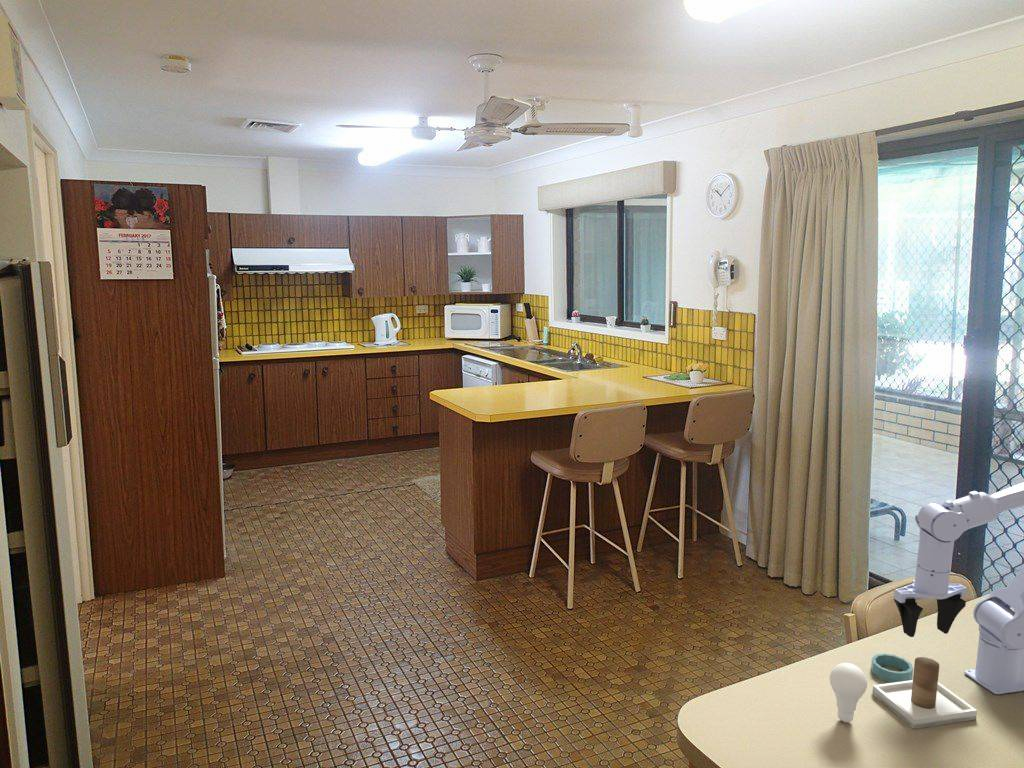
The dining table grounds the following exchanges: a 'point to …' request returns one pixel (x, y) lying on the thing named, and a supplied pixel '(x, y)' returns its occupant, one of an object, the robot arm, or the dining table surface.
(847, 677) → the lightbulb
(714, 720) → the dining table surface
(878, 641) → the dining table surface
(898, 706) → the tray
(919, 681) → the dowel
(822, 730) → the dining table surface
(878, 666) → the teal ring
